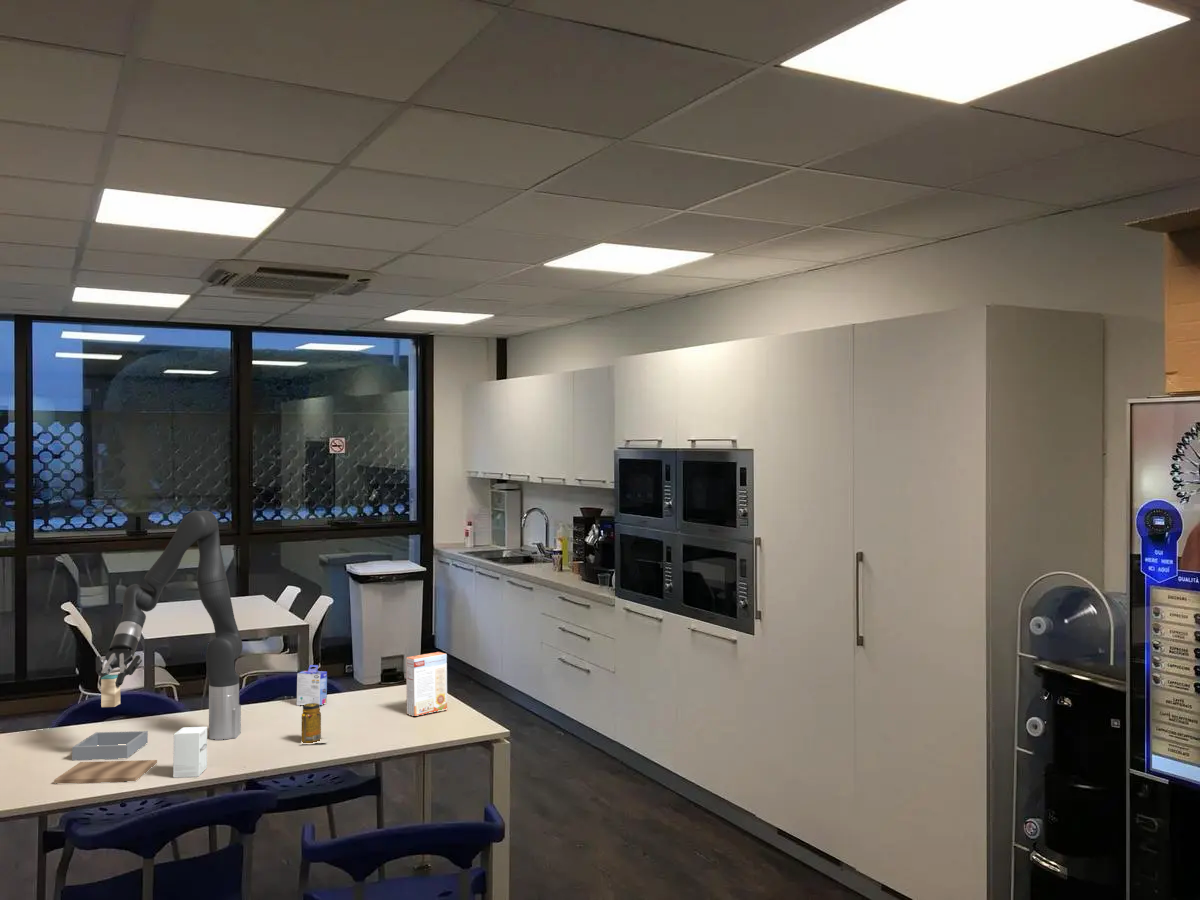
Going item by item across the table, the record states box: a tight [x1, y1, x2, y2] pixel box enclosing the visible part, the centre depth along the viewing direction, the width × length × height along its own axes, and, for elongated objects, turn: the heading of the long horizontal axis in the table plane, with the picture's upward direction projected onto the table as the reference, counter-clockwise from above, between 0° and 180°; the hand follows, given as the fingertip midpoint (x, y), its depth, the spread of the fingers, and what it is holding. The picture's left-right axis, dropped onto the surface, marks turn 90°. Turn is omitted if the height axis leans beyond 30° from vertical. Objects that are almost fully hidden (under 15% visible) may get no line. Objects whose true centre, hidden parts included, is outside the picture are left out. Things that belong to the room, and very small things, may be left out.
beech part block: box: [100, 674, 121, 708], centre depth 290 cm, size 4×4×9 cm
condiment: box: [300, 703, 322, 743], centre depth 304 cm, size 7×8×12 cm
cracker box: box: [405, 651, 448, 717], centre depth 340 cm, size 14×6×21 cm, turn 133°
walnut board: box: [53, 759, 158, 784], centre depth 272 cm, size 22×16×1 cm
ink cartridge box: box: [296, 664, 328, 706], centre depth 352 cm, size 10×6×14 cm, turn 78°
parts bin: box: [71, 730, 149, 761], centre depth 294 cm, size 16×16×4 cm
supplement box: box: [172, 726, 208, 778], centre depth 273 cm, size 7×7×13 cm
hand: (109, 685), depth 289 cm, fingers closed on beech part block, 4 cm apart
